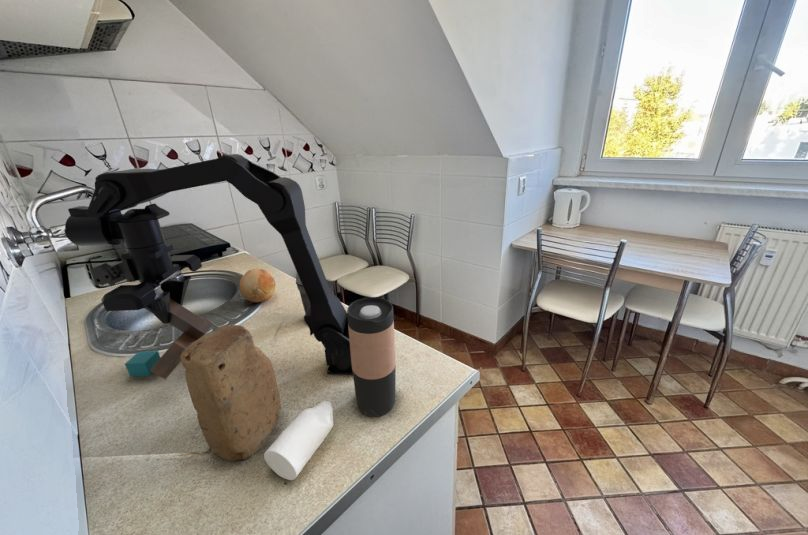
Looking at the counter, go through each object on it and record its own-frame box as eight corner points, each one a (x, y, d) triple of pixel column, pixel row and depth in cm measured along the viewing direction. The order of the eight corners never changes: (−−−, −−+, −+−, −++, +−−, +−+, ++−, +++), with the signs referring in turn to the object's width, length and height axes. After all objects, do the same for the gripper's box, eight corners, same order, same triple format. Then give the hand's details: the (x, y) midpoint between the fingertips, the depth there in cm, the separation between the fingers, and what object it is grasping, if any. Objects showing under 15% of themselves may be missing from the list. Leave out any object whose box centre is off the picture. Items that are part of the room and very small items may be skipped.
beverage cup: (322, 327, 83) (313, 255, 75) (296, 325, 84) (284, 253, 76) (334, 313, 89) (326, 245, 81) (309, 311, 90) (299, 243, 83)
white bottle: (345, 421, 56) (342, 397, 53) (298, 486, 46) (292, 459, 43) (317, 410, 58) (313, 386, 56) (267, 470, 48) (259, 443, 46)
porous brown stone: (238, 473, 47) (203, 365, 40) (205, 454, 50) (166, 350, 43) (291, 418, 56) (270, 321, 49) (260, 405, 59) (236, 311, 52)
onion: (244, 312, 91) (237, 280, 87) (241, 297, 99) (234, 267, 95) (280, 303, 95) (274, 272, 91) (275, 290, 103) (269, 261, 99)
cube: (157, 350, 69) (138, 351, 68) (144, 363, 65) (124, 363, 65) (163, 365, 70) (144, 366, 70) (151, 378, 66) (131, 379, 66)
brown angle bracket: (220, 317, 69) (163, 280, 65) (196, 343, 60) (129, 302, 57) (191, 350, 72) (135, 316, 68) (165, 379, 63) (99, 342, 60)
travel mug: (363, 384, 64) (355, 295, 56) (400, 389, 62) (398, 298, 55) (349, 414, 57) (338, 318, 49) (391, 421, 56) (387, 322, 48)
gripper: (137, 230, 66) (161, 297, 72) (47, 265, 48) (89, 349, 55) (192, 228, 66) (212, 295, 72) (123, 262, 49) (156, 347, 55)
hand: (172, 318), depth 63 cm, fingers closed on brown angle bracket, 3 cm apart
